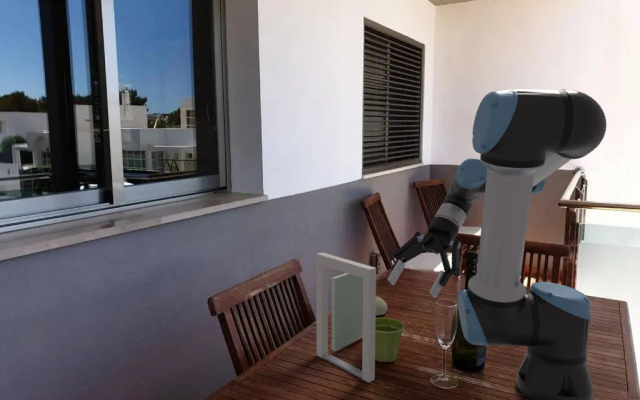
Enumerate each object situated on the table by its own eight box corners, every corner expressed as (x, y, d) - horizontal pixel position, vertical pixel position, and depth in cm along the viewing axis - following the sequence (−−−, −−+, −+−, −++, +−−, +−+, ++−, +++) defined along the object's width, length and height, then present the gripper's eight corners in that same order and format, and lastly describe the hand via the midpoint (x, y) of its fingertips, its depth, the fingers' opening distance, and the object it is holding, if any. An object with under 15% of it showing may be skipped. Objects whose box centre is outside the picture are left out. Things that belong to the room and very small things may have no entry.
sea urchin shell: (389, 301, 159) (387, 290, 153) (386, 325, 154) (384, 314, 148) (361, 298, 161) (358, 287, 155) (357, 321, 157) (354, 311, 151)
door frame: (374, 379, 114) (376, 267, 110) (368, 382, 113) (369, 269, 109) (322, 352, 128) (322, 252, 124) (316, 355, 126) (316, 253, 122)
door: (359, 332, 138) (360, 265, 135) (367, 334, 136) (368, 267, 133) (327, 348, 128) (327, 276, 125) (335, 351, 126) (335, 278, 123)
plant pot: (379, 345, 132) (379, 314, 130) (410, 356, 126) (411, 323, 124) (358, 358, 125) (358, 325, 123) (391, 370, 119) (391, 335, 117)
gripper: (493, 239, 130) (458, 308, 122) (415, 225, 148) (381, 284, 141) (483, 222, 125) (446, 292, 118) (404, 209, 144) (368, 270, 136)
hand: (410, 288), depth 129 cm, fingers open, 13 cm apart
